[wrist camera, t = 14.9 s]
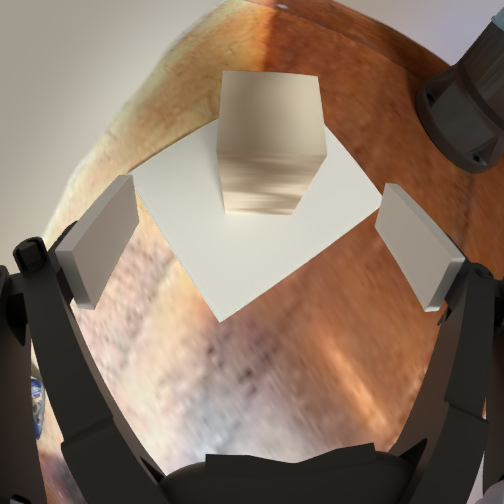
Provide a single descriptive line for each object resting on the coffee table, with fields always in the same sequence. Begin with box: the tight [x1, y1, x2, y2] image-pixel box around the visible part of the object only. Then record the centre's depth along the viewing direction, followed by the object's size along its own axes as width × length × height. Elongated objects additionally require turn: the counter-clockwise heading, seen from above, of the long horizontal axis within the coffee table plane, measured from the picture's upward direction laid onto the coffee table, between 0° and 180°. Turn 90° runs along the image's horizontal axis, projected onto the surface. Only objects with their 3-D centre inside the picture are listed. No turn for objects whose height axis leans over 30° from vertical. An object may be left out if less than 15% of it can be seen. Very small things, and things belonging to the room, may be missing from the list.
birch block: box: [216, 71, 327, 215], centre depth 22 cm, size 6×6×12 cm
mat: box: [127, 118, 382, 322], centre depth 28 cm, size 20×17×1 cm
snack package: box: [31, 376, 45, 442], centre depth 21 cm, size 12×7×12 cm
